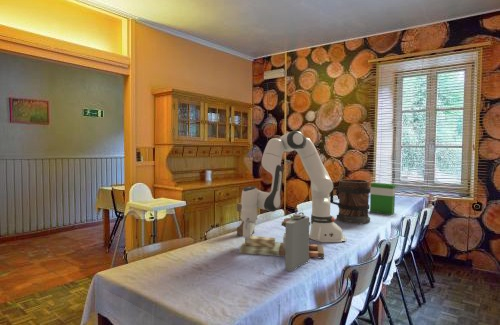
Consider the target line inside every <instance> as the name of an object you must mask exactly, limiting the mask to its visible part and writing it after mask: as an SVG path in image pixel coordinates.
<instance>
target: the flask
mask: <svg viewBox="0 0 500 325" xmlns="http://www.w3.org/2000/svg"><path fill="white" fill-rule="evenodd" d="M292 216H293V218H294V219H291V220H289V221H287V222H286V226H285V233H286V241H285V256H284V258H285V259H284V261H285V262H284V270H285V271H286V270H287V272H293V271H295V270H296V269H297V268H299V267H300V266H299V265H301V266H302V264H303V265H305V264H307V263H306V262H308V261H309V260H310V257H309V244H310V238H309V234H310V225H309V222H310V216H306V215H305V214H304V215H302V213H301V214H299V213H297V214H295V213H293V214H292ZM304 263H305V264H304ZM308 263H309V262H308ZM298 266H299V267H298ZM296 267H297V268H296ZM295 268H296V269H295ZM294 269H295V270H294ZM292 270H293V271H292Z"/></svg>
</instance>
